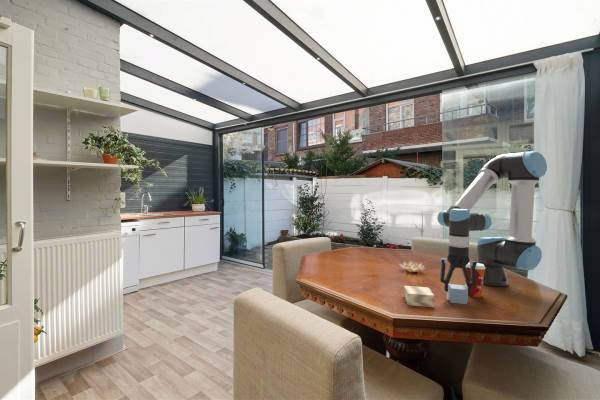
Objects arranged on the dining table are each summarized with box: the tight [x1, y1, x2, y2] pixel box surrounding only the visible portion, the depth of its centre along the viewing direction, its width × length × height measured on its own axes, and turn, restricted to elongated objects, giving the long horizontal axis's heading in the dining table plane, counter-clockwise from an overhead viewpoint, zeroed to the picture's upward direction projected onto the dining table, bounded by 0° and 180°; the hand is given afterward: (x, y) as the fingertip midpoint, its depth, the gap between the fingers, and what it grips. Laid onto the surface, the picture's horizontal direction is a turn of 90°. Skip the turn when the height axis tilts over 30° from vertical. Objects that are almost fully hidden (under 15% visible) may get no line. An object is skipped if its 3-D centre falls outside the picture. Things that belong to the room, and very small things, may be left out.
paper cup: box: [466, 263, 485, 298], centre depth 132 cm, size 8×8×14 cm
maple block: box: [403, 285, 435, 308], centre depth 124 cm, size 10×10×5 cm
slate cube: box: [449, 283, 468, 305], centre depth 125 cm, size 6×6×6 cm
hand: (456, 299), depth 126 cm, fingers open, 6 cm apart
